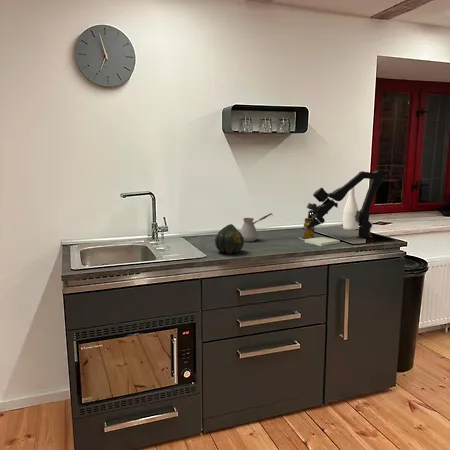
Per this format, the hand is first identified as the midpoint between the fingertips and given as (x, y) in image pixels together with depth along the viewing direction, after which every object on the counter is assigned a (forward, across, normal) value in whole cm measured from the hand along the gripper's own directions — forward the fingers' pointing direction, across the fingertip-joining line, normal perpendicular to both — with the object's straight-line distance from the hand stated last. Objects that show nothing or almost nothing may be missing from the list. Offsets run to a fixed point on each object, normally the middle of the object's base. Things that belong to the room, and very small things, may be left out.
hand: (305, 226), depth 256 cm
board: (0, +12, +10) cm, 15 cm away
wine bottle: (-20, -29, +30) cm, 47 cm away
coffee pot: (+26, 0, -15) cm, 30 cm away
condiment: (+4, 0, +6) cm, 7 cm away
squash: (+38, +30, -27) cm, 56 cm away
